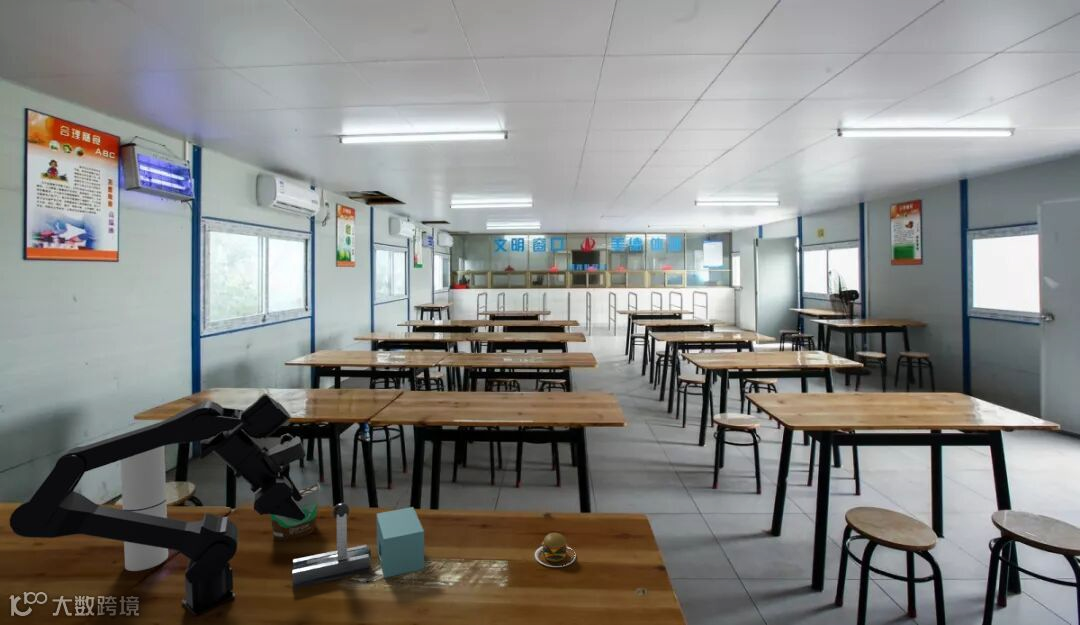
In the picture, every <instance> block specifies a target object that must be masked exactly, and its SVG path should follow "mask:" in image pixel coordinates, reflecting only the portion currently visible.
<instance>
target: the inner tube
mask: <svg viewBox="0 0 1080 625" xmlns="http://www.w3.org/2000/svg"><path fill="white" fill-rule="evenodd" d="M349 514H350V506H349V505H348V504H347V503H346V502H340V503H337V504H336V505H335V506H334V507H333V510H332V516H333V517H334V518H335V519H336V522H335V523H336V524H335V526H336V527H335V528H336V551H337V554H336V555H332V556H327V557H322V558H317V559H312V560H308V561H307V567H309V566H314V565H318V564H323V563H328V562H333V561H337V560H342V559H347V558H351V557H356V556H361V555H365V554H369V560H371V558H372V555H371V554H372V553H371V547H367V548H365V549H360V550H356V551H351V552H347V548H348V529H347V528H348V525H347V522H348V520H347V517H348V516H349Z"/></svg>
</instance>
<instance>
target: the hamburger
mask: <svg viewBox="0 0 1080 625" xmlns="http://www.w3.org/2000/svg"><path fill="white" fill-rule="evenodd" d="M541 545H542V546H540V547H539V548H537V549H536V550H535V552H534V558H535V560H536V561H537V562H538V563H540V564H541V565H544V566H546V567H549V568H550V567H551V568H562V567H566V566H569V565H571V564H572V563H573V562H575V560H576V559H577V558H576V557H577V554H576V552H575V551H574V553H575V555H574V556H575V557H574V559H573V560H572V559H571V560H572V561H571V560H570V561H571V562H570V561H569V562H570V563H569V562H568V563H566V565H565V564H563V566H562V565H555V566H554V565H549V564H547V563H544V562H542V561H541V559H540V558H539V557H538V556H540V554H539V553H542V555H543V557H544V559H545V560H547V561H549V562H552V563H558V561H559V562H562V561H563V560H564V559H565V558H566V555H567V552H568V551H566V550H567V549H571V550H573V549H572V548H571V547H570V546H569V545H568V544H567V539H566V537H564V535H562V534H561V533H558V532H550V533H548V534H547V535H546V536H545V537H544V539H543V541H542V543H541ZM541 551H542V552H541ZM561 560H562V561H561Z"/></svg>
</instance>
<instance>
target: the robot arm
mask: <svg viewBox="0 0 1080 625" xmlns="http://www.w3.org/2000/svg"><path fill="white" fill-rule="evenodd" d="M291 419H292V416H291V415H290V413H289V412H288V410H287V409H286V408H285V407H284V406H283V405H282V404H281V403H280V402H279V401H278V402H277V400H275V399H274V398H273V397H271V396H270V395H269V394H267V393H263V394H262V395H261V396H260V397H258V399H257V400H256V401H255V402H253V403H251V405H250V406H248V407H247V408H245V409H244V410H243V409H239V408H237V409H236V408H232V407H231V408H230V407H223V406H222V405H220V404H219V403H217V402H215V401H213V400H205V401H204V400H203V401H200V402H198V403H196V404H194V405H192V406H190V407H188V408H185V409H184V410H183V409H182V411H179V412H177V413H176V414H174V415H172V416H170V417H169V418H167V419H165V420H162V421H159V422H157V423H153V424H150V425H147V426H144V427H140V428H138V429H135V430H131V431H128V432H125V433H121V434H118V435H115V436H112V437H109V438H106V439H103V440H100V441H97V442H93V443H89V444H87V445H82V446H75V447H72V448H70V449H68V451H66V452H65V453H64V454H63V455H62V456H61V457H59V458H58V459H57V461H56V463H55V466H54V467H53V468H52V470H51V471H50V473H49V474H48V475H47V477H46V478H45V479H44V481H43V482H42V483H41V485H40V486H39V487H38V489H36V491H35V492H33V493H32V494H31V495H30V496H29V497H27V498H26V499H25V500H24V501H23V502H22V503H21V504H20V505H19V506H17V507H16V508H15V509H14V510H13V512H12V513H11V515H10V517H9V527H10V528H11V530H12V533H13V534H14V535H16V536H18V537H22V538H31V539H32V538H33V539H34V538H35V539H36V538H37V539H55V538H61V537H68V536H75V535H84V536H89V537H95V538H101V539H108V540H114V541H119V542H123V543H124V542H130V543H136V544H142V545H148V546H154V547H160V548H166V549H168V550H173V551H176V552H179V553H180V554H182V555H183V556H184V557H186V558H188V562H187V565H186V571H185V572H184V579H185V580H184V582H185V598H183V599H182V600H181V602H182V605H184V606H185V608H187V610H189V611H190V612H191V613H192V614H193V615H194V616H200V615H201V614H203V613H206V612H208V611H209V610H212V609H214V608H216V607H218V606H220V605H222V604H224V603H227V602H228V601H229V602H230V601H231V600H233V599H234V598H235V596H236V595H235V593H234V592H233V590H234V569H233V568H232V567H231V562H229V561H230V560H232V559H233V558H234V556H235V555H236V552H237V550H238V542H239V528H238V526H237V525H236V523H235V522H233V521H231V520H229V518H230V517H229V516H217V515H214V514H211V513H206V512H205V513H204V515H203V519H202V520H196V521H190V522H189V521H182V520H178V519H173V518H168V517H167V518H163V517H158V516H153V515H147V514H142V513H137V512H132V511H127V510H123V509H120V508H116V507H111V506H105V505H100V504H97V503H95V502H94V501H92V500H91V499H89V498H88V497H86V496H85V495H83V494H82V493H79V492H77V491H75V489H76V487H77V485H78V484H79V483H80V481H81V480H82V478H83V476H84V474H85V473H86V472H89V471H92V470H95V469H98V468H102V467H104V466H107V465H111V464H114V463H116V462H119V461H121V460H122V459H125V458H128V457H131V456H134V455H137V454H140V453H143V452H146V451H149V450H152V449H155V448H158V447H161V446H164V447H165V446H168V445H176V444H188V443H193V442H198V441H199V442H200V444H199V447H200V455H199V459H200V460H203V459H206V457H208V456H209V455H210V454H211V453H213V454H215V455H216V456H217V457H218V458H220V460H222V461H223V463H225V464H226V465H227V466H228V467H230V468H231V469H232V470H233V471H234V472H233V473H234V474H233V475H234V476H235V477H236V478H237V479H239V478H242V479H243V481H245V482H246V483H247V484H248V485H249V486H250V487H249V488H250V491H252V492H253V493H254V498H253V499H254V500H253V510H254V511H255V512H256V513H258V514H259V515H260V516H263V515H266V516H267V515H271V514H272V515H278V516H283V517H288V518H292V519H296V520H303V519H304V518H305V514H304V512H303V511H302V509H301V508H300V507H299V505H298V504H297V503H296V501H300V500H301V499H302V495H301V494H300V492H299V490H300V489H298V487H297V486H296V484H295V482H294V481H293V479H292V477H291V476H290V471H291V470H290V469H291V464H292V463H294V462H295V461H300V460H302V459H305V457H307V454H306V449H305V446H304V444H303V442H302V440H301V438H300V436H295V437H294V436H293V435H292V434H291V433H286V434H283V435H280V441H279V443H277V444H275V446H273V447H271V448H269V447H268V446H267V445H266V444H265V445H264V444H261V445H259V444H258V443H257V442H256V441H255V440H254V439H256V440H258V439H259V440H261V439H262V438H263V439H267V438H268V437H269V436H271V435H272V434H273V433H275V432H276V431H277V430H278V429H279V428H281V427H282V426H283V425H284V424H286V423H287V422H288V421H290V420H291ZM252 437H253V438H254V439H253V438H252Z"/></svg>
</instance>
